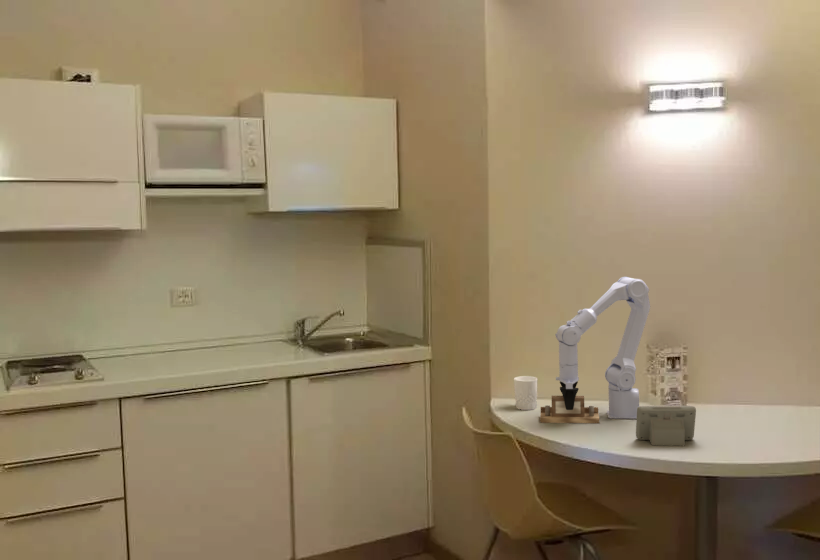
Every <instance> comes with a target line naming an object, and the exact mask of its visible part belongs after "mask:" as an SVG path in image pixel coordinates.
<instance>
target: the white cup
mask: <svg viewBox="0 0 820 560" xmlns="http://www.w3.org/2000/svg"><path fill="white" fill-rule="evenodd" d="M513 386H514V387H513V388H514V399H515V407H516V409H517V408H518V409H517V410H520V409H521V411H533V410H536V409H537V406H538V404H537V399H538V377H536V376H532V375H521V376H519V375H518V376H515V377H514V378H513Z"/></svg>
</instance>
